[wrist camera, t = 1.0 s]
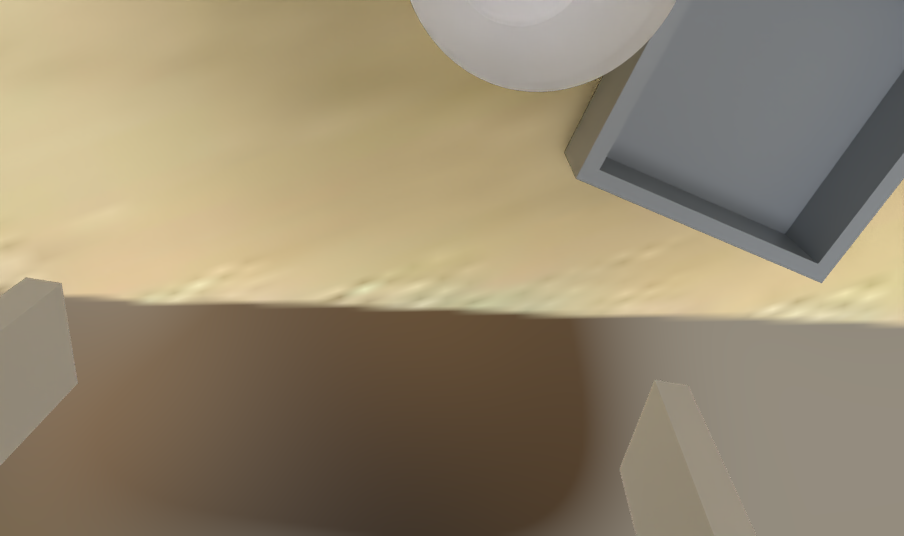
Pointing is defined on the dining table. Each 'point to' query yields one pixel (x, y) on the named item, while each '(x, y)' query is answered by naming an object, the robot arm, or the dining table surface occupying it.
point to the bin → (757, 124)
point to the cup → (540, 37)
